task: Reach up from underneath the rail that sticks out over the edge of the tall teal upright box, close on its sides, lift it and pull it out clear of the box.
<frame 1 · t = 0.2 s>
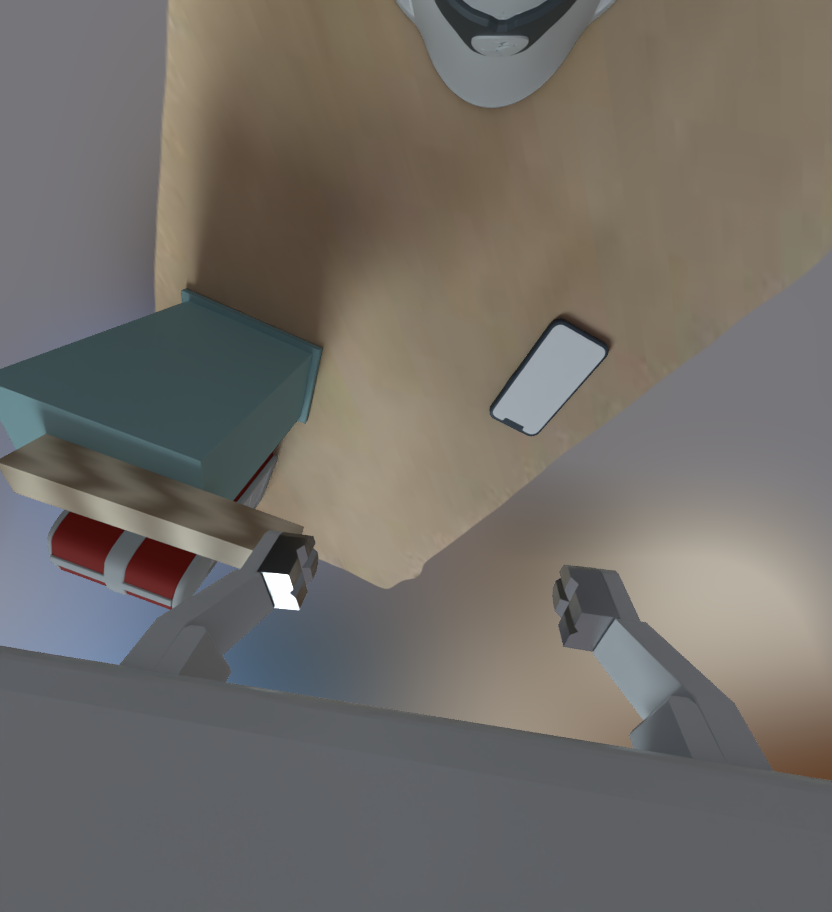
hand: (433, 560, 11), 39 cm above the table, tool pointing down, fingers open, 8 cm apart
red striped toaster: (228, 460, 66), on the table
tall teal upright box: (253, 361, 51), on the table
rail: (182, 495, 32), point 26 cm above the table, touching tall teal upright box
phone case: (542, 380, 47), on the table
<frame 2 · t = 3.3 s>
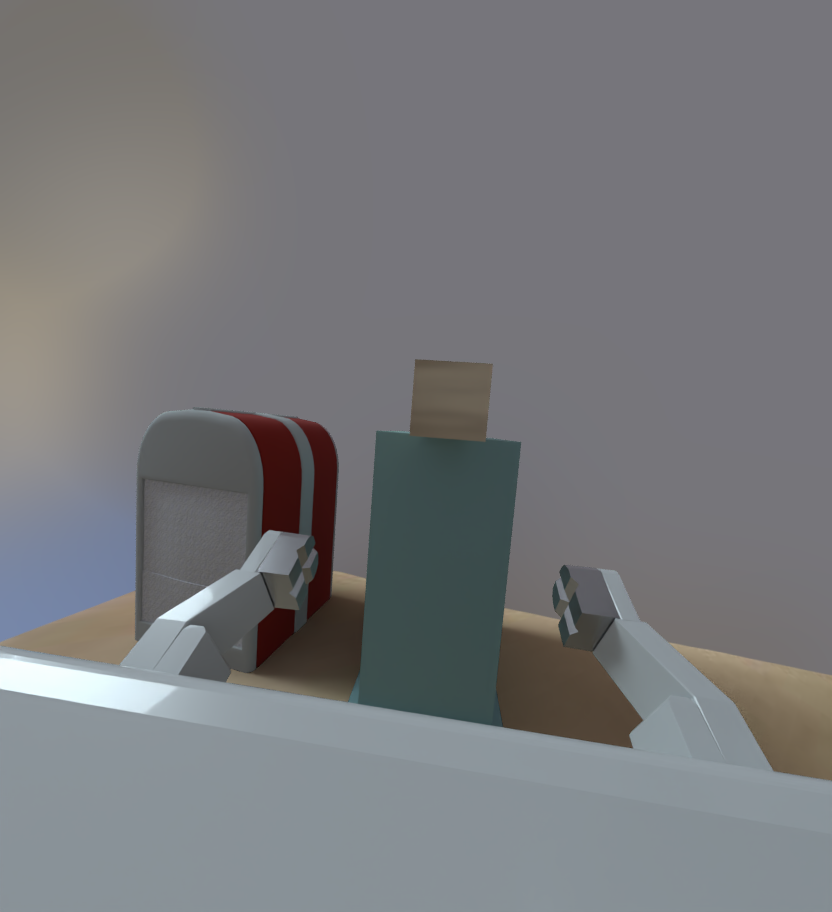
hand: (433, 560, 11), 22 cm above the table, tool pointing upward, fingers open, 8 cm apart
red striped toaster: (247, 615, 44), on the table
tall teal upright box: (428, 658, 38), on the table
rail: (447, 436, 29), point 26 cm above the table, touching tall teal upright box
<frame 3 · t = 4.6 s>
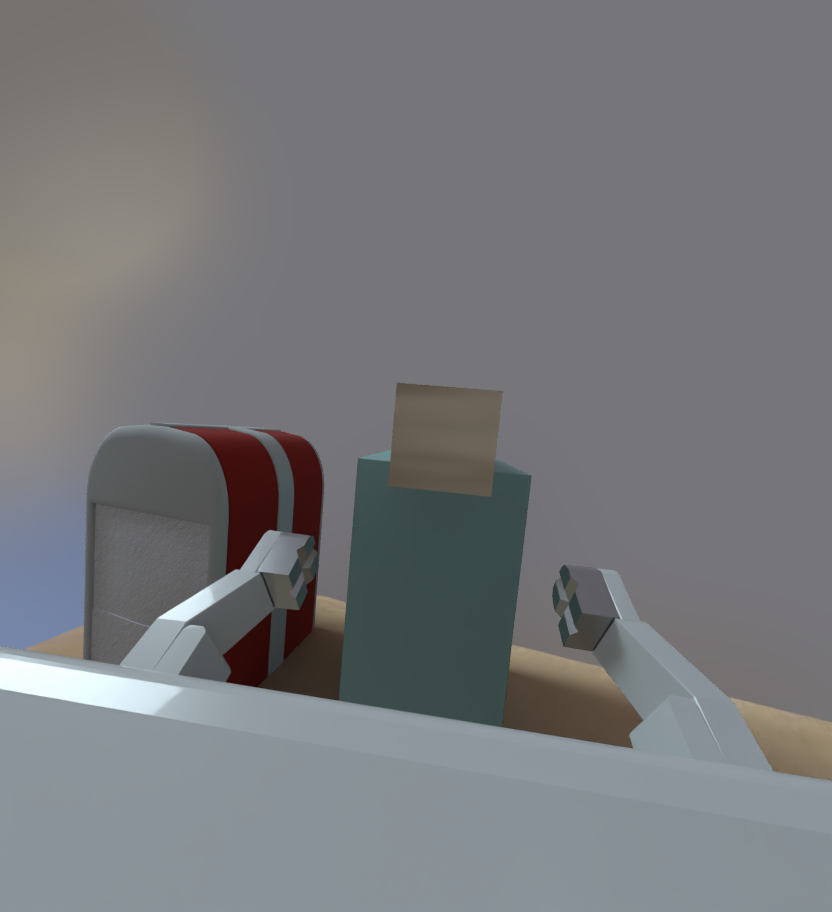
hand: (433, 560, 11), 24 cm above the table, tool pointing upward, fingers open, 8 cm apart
red striped toaster: (217, 652, 39), on the table
tall teal upright box: (419, 711, 33), on the table
rail: (443, 464, 25), point 26 cm above the table, touching tall teal upright box
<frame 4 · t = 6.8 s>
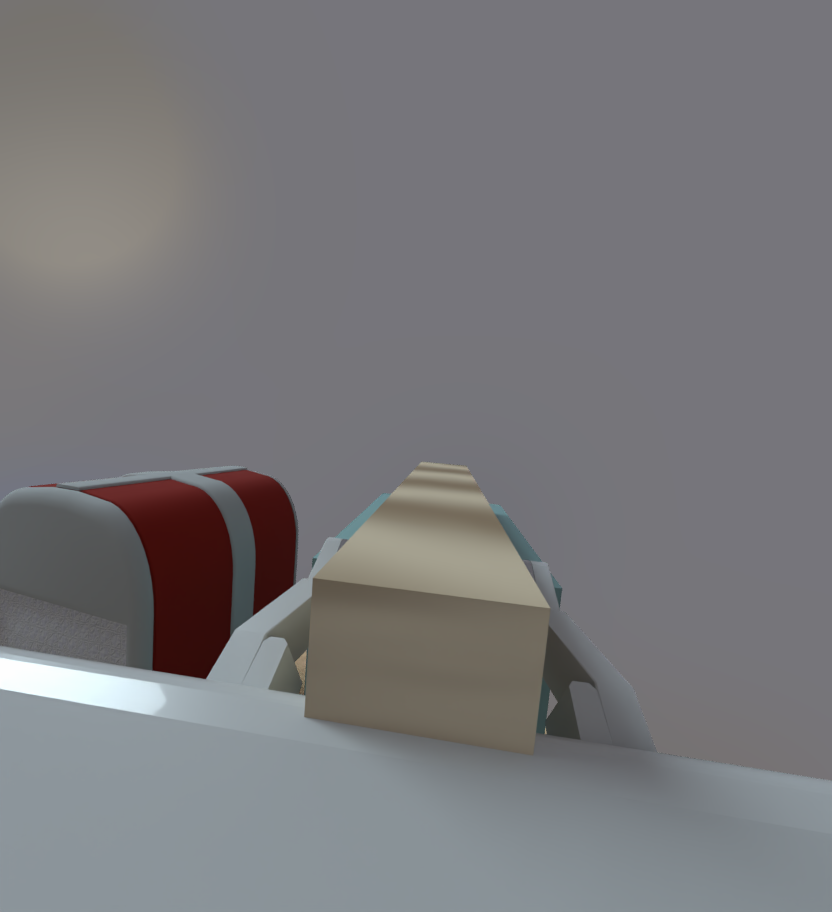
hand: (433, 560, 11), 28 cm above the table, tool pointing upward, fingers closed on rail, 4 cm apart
red striped toaster: (166, 744, 33), on the table
tall teal upright box: (409, 836, 27), on the table
rail: (434, 557, 18), point 26 cm above the table, touching gripper, tall teal upright box
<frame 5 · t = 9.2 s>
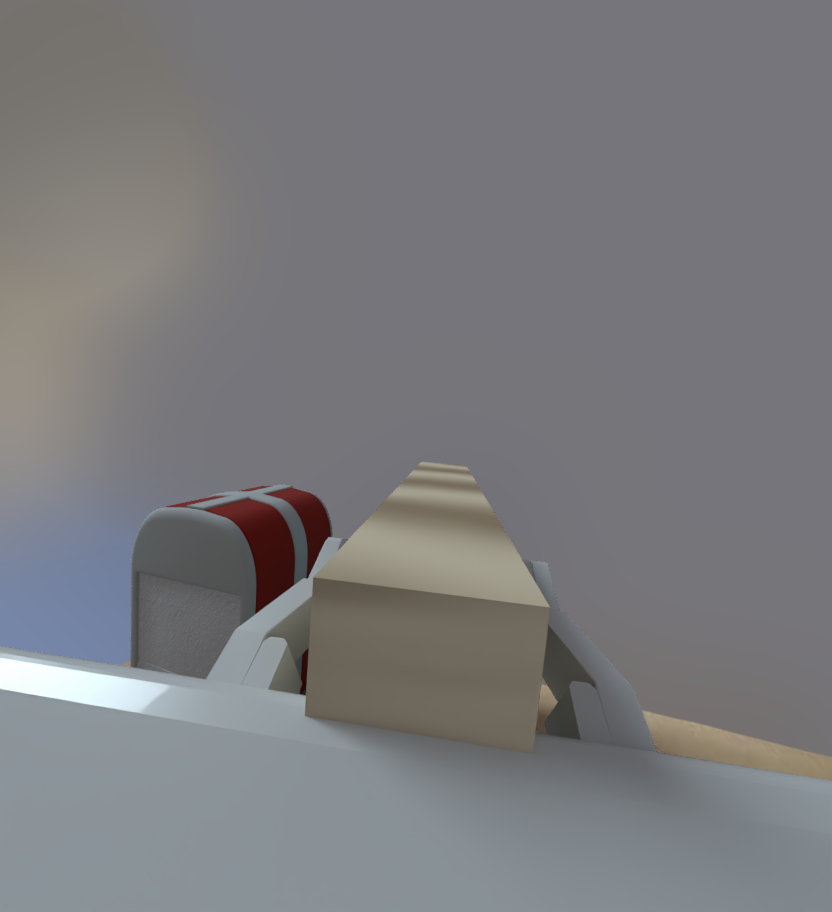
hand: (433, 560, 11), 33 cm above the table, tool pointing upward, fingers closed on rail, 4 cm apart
red striped toaster: (241, 689, 45), on the table
rail: (434, 557, 18), point 30 cm above the table, touching gripper
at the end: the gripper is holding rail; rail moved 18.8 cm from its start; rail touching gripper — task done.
